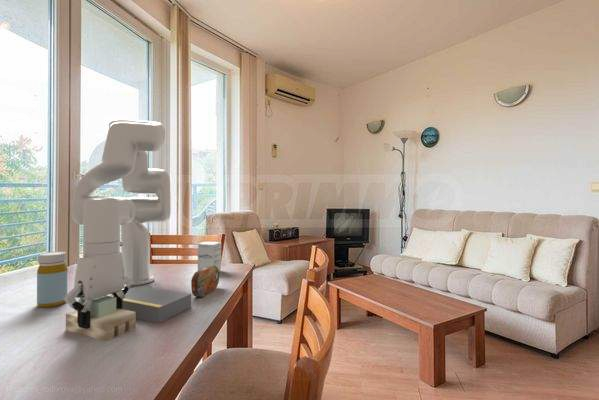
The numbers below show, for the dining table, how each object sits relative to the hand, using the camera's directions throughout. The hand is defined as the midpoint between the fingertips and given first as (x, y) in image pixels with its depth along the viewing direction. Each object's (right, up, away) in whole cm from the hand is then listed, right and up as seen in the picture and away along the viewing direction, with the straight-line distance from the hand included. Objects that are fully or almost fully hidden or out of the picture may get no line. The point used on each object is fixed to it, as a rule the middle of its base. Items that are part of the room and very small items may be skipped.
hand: (101, 320), depth 75 cm
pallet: (0, -2, 0) cm, 2 cm away
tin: (+17, -2, +29) cm, 34 cm away
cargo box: (0, +2, 0) cm, 2 cm away
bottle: (-25, -2, +16) cm, 30 cm away
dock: (+5, -2, +13) cm, 14 cm away
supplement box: (+10, -2, +56) cm, 57 cm away
